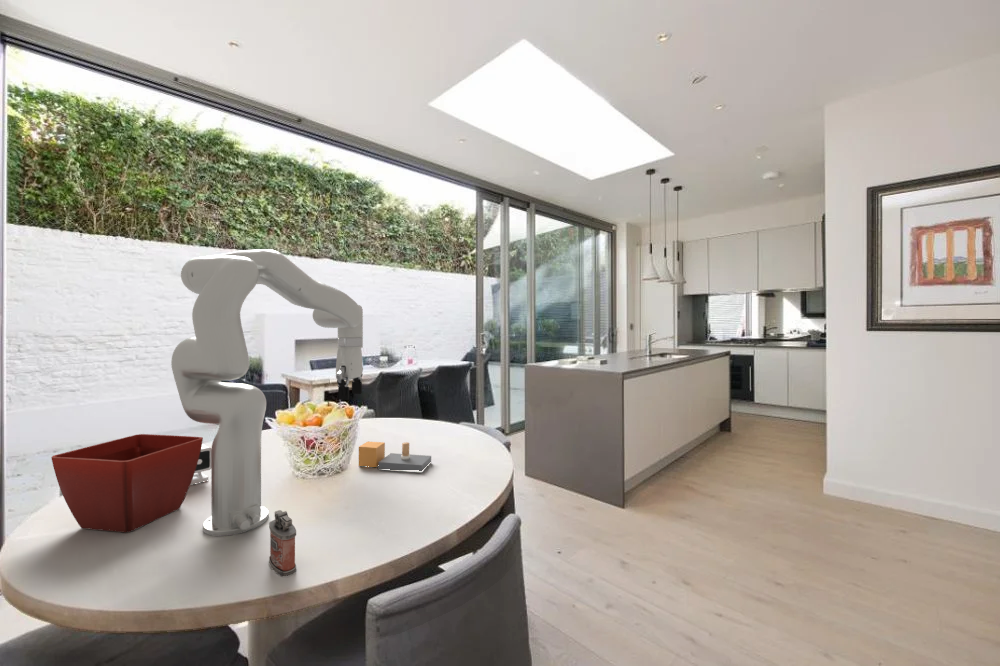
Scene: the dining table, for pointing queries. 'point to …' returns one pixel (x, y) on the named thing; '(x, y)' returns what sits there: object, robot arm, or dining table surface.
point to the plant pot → (127, 480)
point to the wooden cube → (371, 453)
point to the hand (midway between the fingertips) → (350, 396)
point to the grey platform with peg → (404, 460)
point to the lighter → (282, 544)
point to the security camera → (202, 465)
